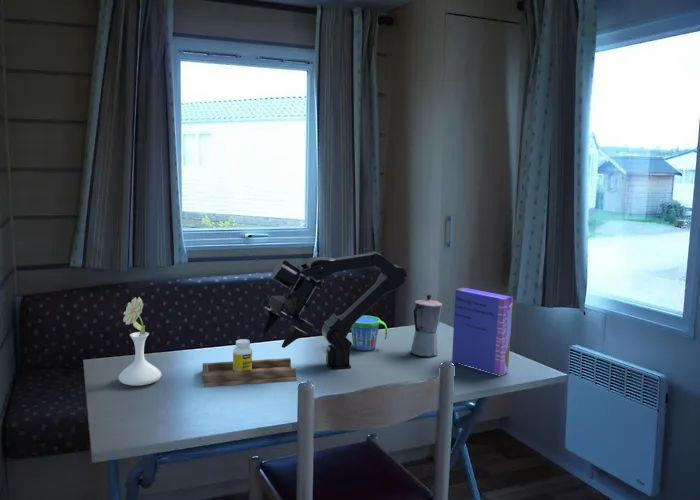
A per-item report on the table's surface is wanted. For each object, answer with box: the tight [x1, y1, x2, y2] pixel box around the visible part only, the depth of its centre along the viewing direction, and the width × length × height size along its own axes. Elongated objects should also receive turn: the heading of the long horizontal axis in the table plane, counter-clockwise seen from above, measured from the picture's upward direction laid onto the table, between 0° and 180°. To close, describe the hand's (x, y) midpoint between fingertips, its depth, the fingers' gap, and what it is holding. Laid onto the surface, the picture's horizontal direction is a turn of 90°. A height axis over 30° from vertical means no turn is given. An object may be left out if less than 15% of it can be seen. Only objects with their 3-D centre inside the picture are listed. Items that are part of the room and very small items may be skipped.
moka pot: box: [410, 294, 443, 357], centre depth 199 cm, size 10×15×20 cm, turn 148°
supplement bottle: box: [232, 338, 253, 372], centre depth 174 cm, size 5×5×10 cm
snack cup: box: [350, 315, 389, 351], centre depth 205 cm, size 16×10×10 cm
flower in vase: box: [118, 296, 162, 387], centre depth 166 cm, size 13×11×25 cm
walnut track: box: [202, 357, 298, 388], centre depth 175 cm, size 26×13×3 cm, turn 105°
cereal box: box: [451, 287, 514, 376], centre depth 187 cm, size 17×5×24 cm, turn 45°
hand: (272, 340), depth 178 cm, fingers open, 9 cm apart
